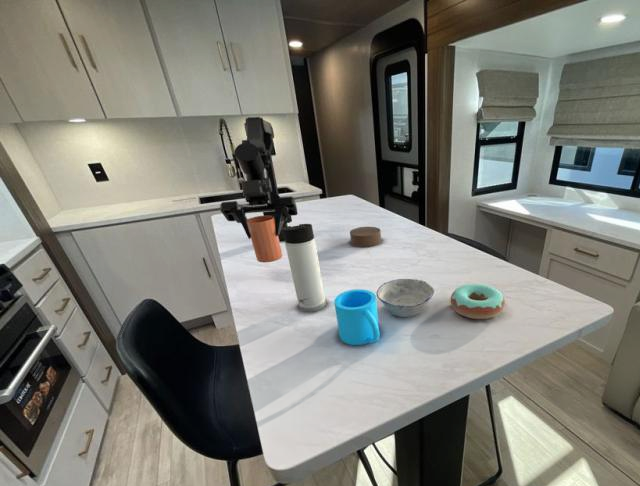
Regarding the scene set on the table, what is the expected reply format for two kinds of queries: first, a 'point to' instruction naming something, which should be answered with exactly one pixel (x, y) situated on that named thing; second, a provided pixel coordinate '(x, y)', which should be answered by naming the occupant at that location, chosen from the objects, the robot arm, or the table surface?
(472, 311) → the donut
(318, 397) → the table surface
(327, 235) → the table surface
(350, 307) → the mug
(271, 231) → the cup
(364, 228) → the stand
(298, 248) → the travel mug
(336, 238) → the table surface
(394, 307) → the bowl
